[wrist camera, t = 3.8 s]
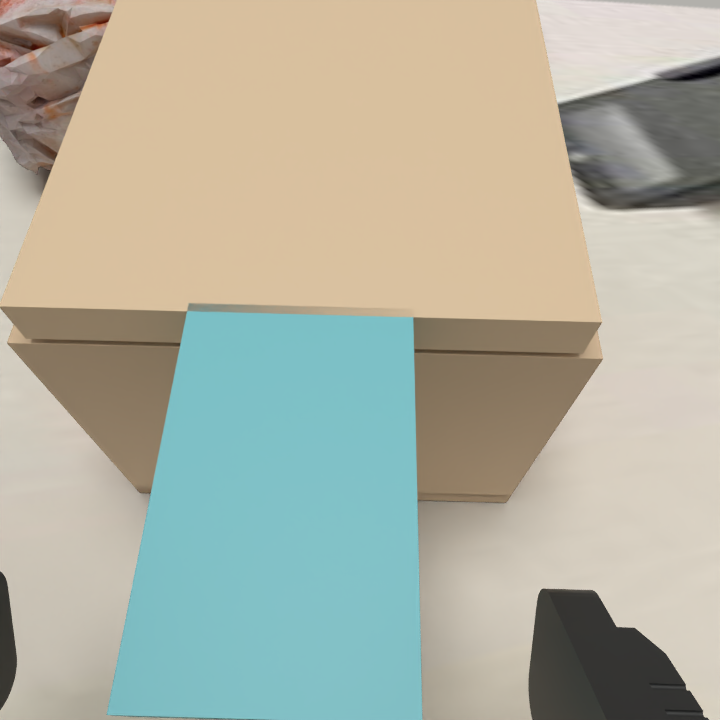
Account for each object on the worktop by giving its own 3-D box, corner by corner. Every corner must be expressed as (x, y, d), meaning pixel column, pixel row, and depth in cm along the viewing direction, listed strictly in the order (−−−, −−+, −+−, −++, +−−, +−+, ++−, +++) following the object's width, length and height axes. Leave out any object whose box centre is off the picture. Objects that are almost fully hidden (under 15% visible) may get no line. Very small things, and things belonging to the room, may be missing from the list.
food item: (199, 173, 31) (141, -40, 22) (29, 209, 29) (-103, -4, 21) (156, 16, 37) (99, -196, 29) (16, 40, 36) (-89, -175, 27)
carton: (139, 492, 22) (6, 343, 14) (200, 202, 29) (137, -16, 21) (505, 502, 22) (602, 358, 14) (477, 210, 29) (530, -6, 21)
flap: (-104, 710, 10) (-156, 707, 9) (151, -21, 21) (140, -61, 20) (651, 731, 10) (686, 731, 9) (516, -13, 21) (524, -51, 20)
